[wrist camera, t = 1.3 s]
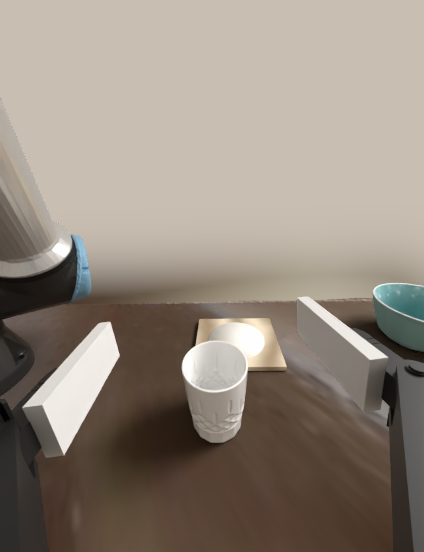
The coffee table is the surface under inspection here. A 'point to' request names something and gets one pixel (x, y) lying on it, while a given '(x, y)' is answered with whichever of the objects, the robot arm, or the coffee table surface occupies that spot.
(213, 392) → the white cup
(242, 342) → the coaster board
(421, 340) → the bowl
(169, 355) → the coffee table surface
